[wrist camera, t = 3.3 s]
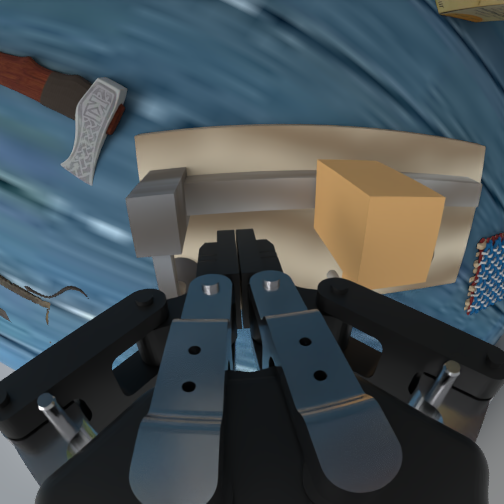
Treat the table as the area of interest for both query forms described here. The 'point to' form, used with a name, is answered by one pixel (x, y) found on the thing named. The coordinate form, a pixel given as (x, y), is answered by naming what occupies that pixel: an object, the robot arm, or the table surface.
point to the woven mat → (487, 275)
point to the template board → (305, 154)
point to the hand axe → (70, 106)
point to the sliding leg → (376, 222)
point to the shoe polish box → (472, 9)
